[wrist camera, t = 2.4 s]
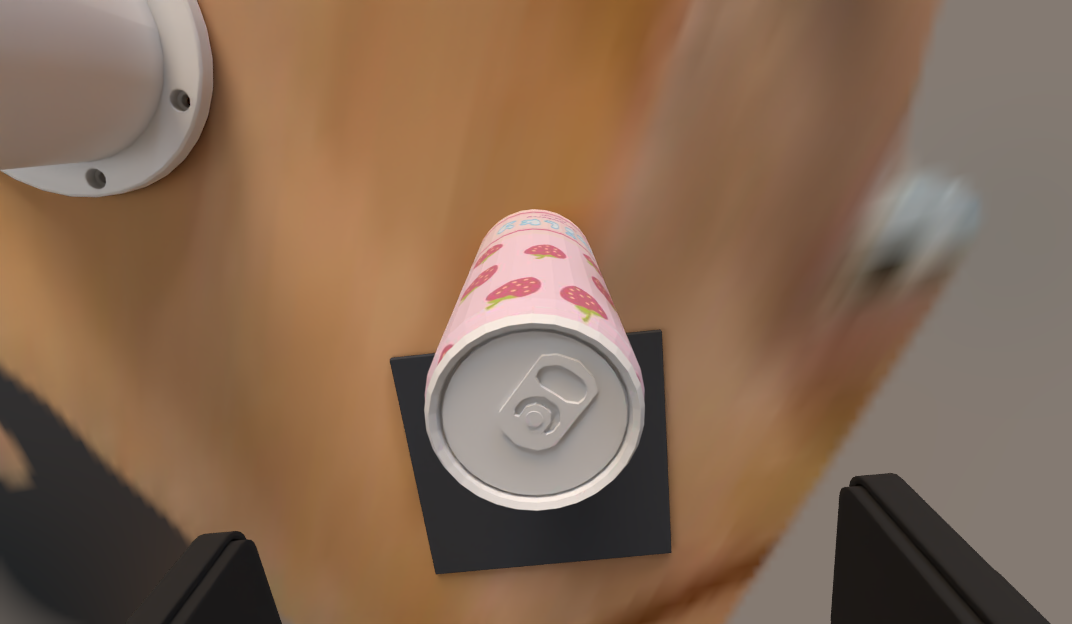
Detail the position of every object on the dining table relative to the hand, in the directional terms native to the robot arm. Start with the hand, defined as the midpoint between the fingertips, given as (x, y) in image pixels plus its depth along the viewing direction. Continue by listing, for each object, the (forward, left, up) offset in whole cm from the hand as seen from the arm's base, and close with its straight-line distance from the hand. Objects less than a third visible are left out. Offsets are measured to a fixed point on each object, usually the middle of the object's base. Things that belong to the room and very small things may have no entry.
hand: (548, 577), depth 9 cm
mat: (+11, -1, -20) cm, 22 cm away
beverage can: (0, 0, -20) cm, 20 cm away
